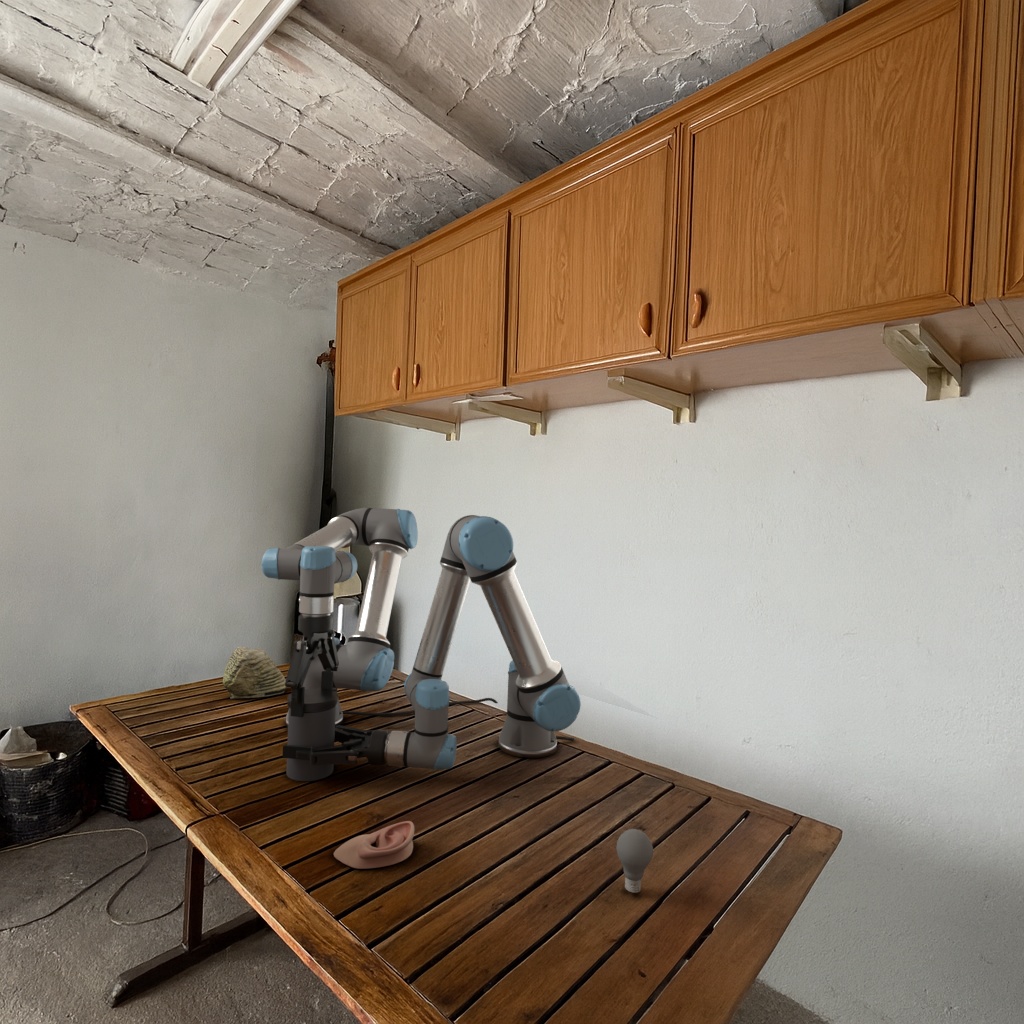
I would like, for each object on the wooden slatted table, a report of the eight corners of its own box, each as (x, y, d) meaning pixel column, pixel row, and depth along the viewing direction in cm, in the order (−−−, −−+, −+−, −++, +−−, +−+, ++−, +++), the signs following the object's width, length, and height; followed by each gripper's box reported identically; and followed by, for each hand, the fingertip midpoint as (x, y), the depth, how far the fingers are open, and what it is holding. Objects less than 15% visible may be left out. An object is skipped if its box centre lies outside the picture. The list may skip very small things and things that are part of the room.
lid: (326, 712, 139) (326, 705, 139) (278, 709, 140) (278, 701, 140) (344, 697, 150) (344, 690, 150) (300, 694, 151) (300, 687, 151)
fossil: (218, 695, 195) (220, 647, 195) (278, 685, 208) (279, 640, 207) (228, 703, 189) (230, 653, 188) (289, 692, 201) (290, 645, 201)
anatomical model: (325, 840, 109) (355, 809, 121) (324, 863, 109) (354, 830, 121) (398, 852, 107) (421, 819, 118) (397, 876, 107) (420, 840, 118)
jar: (277, 770, 145) (280, 698, 145) (318, 758, 153) (320, 689, 153) (301, 785, 138) (303, 709, 138) (342, 772, 146) (344, 700, 146)
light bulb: (610, 879, 108) (613, 822, 108) (644, 879, 109) (647, 822, 109) (619, 902, 102) (622, 840, 102) (655, 901, 103) (658, 840, 103)
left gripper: (327, 604, 158) (324, 690, 158) (270, 621, 134) (266, 722, 134) (355, 606, 156) (352, 693, 156) (302, 624, 132) (298, 727, 133)
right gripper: (373, 786, 133) (271, 779, 134) (399, 745, 156) (311, 739, 157) (375, 751, 133) (272, 744, 134) (400, 714, 156) (312, 709, 157)
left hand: (312, 707), depth 145 cm, fingers open, 12 cm apart
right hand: (293, 741), depth 146 cm, fingers closed on jar, 10 cm apart
